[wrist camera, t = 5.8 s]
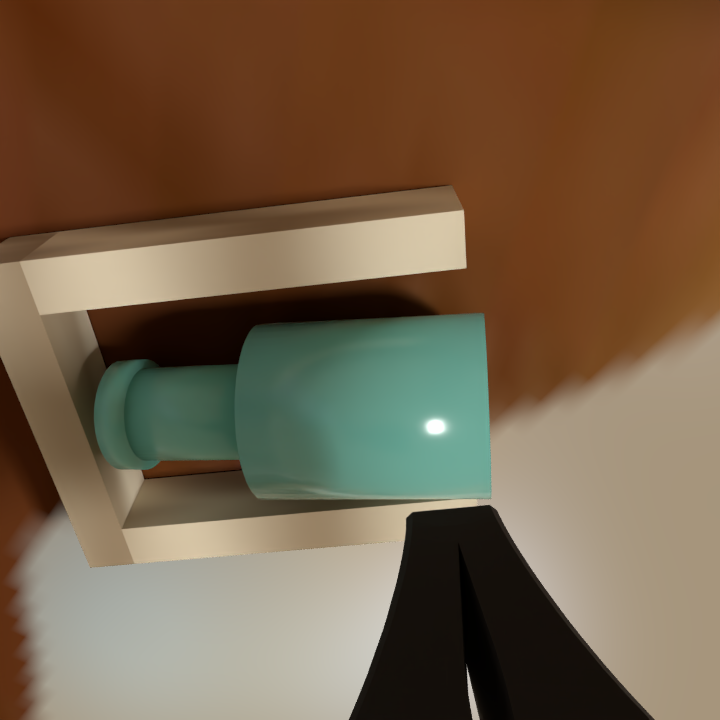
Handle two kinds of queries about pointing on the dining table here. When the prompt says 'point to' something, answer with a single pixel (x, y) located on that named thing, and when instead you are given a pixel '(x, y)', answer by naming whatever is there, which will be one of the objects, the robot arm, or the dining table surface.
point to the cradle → (184, 281)
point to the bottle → (318, 410)
